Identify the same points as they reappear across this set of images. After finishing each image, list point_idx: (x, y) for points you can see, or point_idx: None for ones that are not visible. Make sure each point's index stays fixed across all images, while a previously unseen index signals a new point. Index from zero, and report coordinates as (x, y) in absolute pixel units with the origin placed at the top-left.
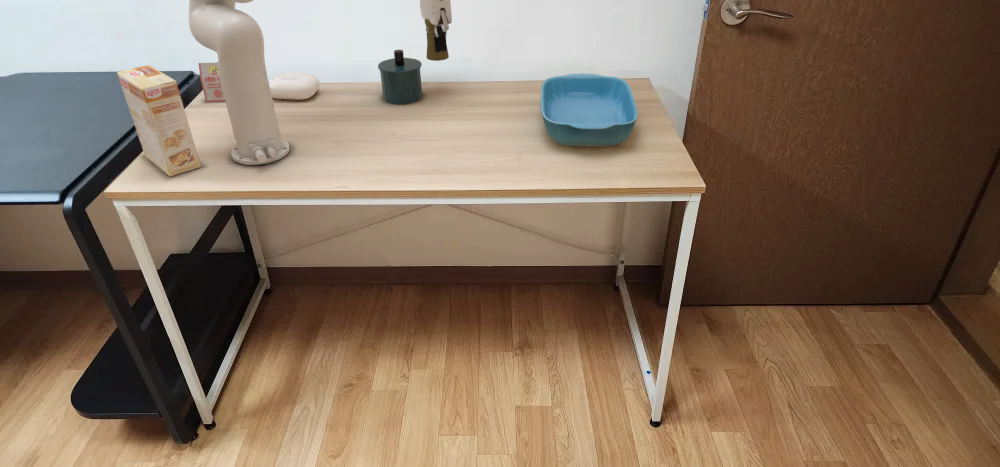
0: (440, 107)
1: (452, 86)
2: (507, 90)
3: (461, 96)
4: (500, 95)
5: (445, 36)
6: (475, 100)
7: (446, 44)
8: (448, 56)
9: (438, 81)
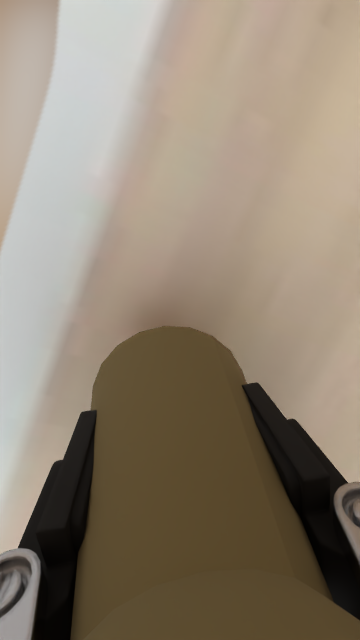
0: (323, 372)
1: (143, 270)
2: (297, 39)
3: (265, 273)
4: (334, 106)
5: (321, 471)
6: (329, 235)
7: (207, 380)
8: (204, 335)
9: (60, 308)
